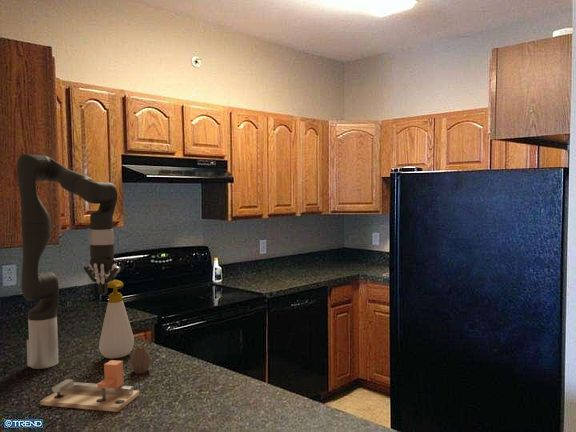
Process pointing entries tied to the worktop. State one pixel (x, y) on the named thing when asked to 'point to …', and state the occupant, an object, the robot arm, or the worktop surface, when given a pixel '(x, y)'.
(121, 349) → the soap bottle
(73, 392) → the hole board
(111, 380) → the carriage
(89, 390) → the rail
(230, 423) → the worktop surface
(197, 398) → the worktop surface
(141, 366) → the vase
